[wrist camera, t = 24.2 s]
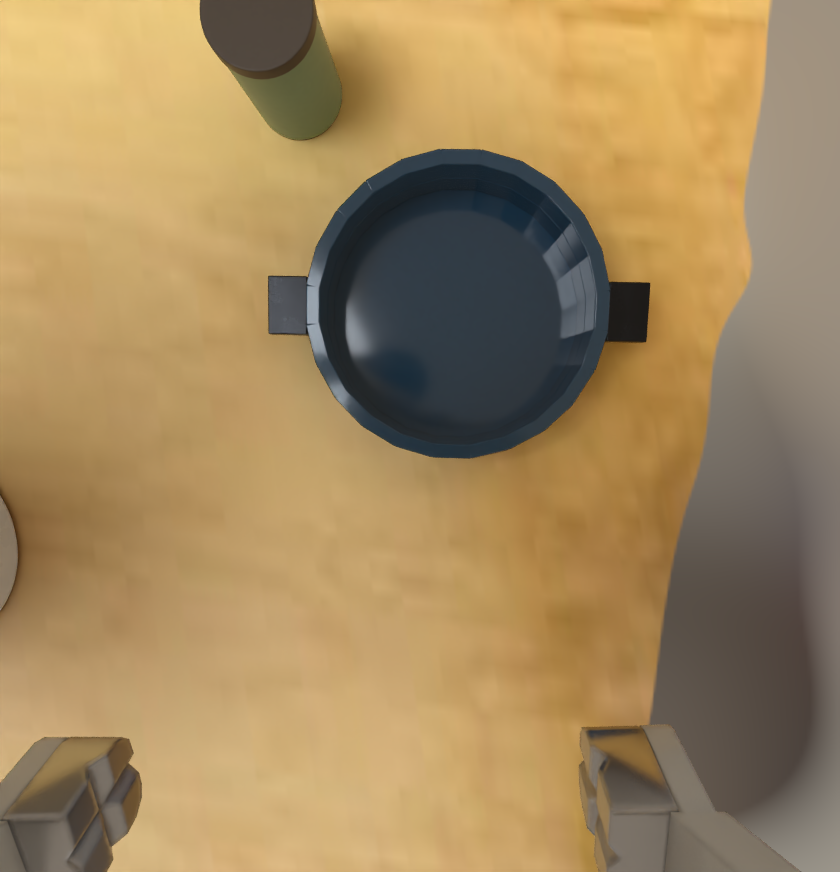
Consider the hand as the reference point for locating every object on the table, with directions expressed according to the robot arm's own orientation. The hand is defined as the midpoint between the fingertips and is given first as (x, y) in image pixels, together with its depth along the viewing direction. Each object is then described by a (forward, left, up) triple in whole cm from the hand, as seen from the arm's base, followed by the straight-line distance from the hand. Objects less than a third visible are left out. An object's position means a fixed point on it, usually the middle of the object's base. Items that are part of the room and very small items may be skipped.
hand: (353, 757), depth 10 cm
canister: (-8, +24, -26) cm, 36 cm away
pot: (+2, +11, -26) cm, 28 cm away
